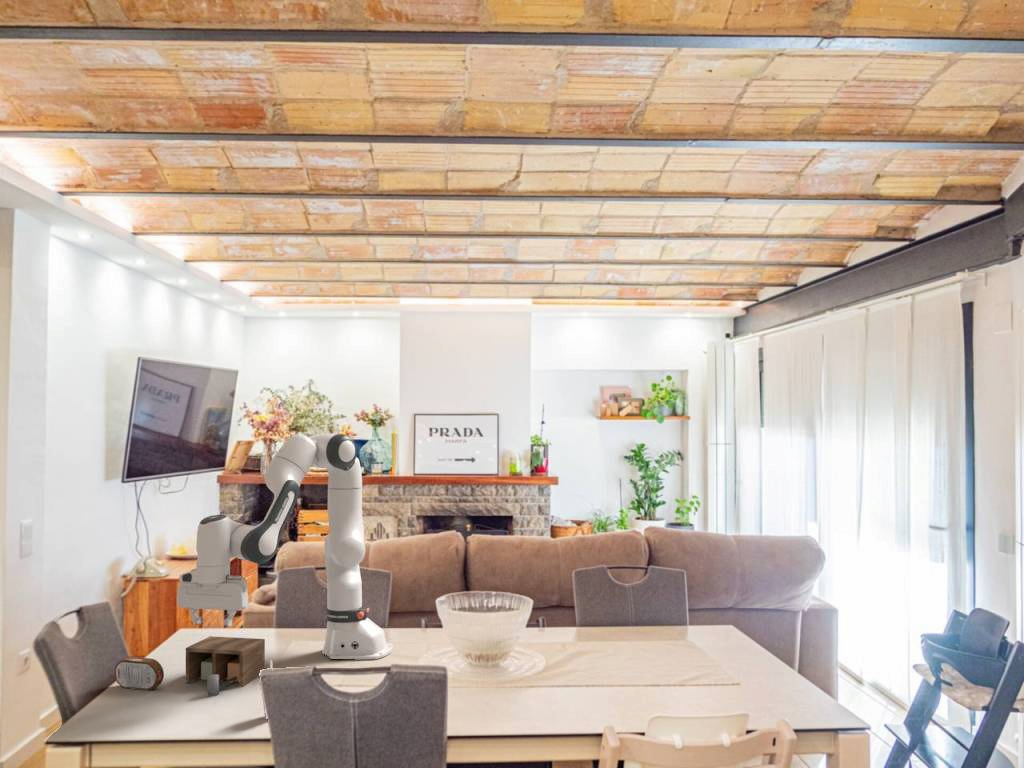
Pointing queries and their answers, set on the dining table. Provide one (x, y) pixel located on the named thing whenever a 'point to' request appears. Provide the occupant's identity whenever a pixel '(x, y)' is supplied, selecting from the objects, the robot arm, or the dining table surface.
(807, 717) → the dining table surface
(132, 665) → the tin
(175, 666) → the dining table surface
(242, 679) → the shelf unit
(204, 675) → the green block
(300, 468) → the robot arm
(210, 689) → the pull block
